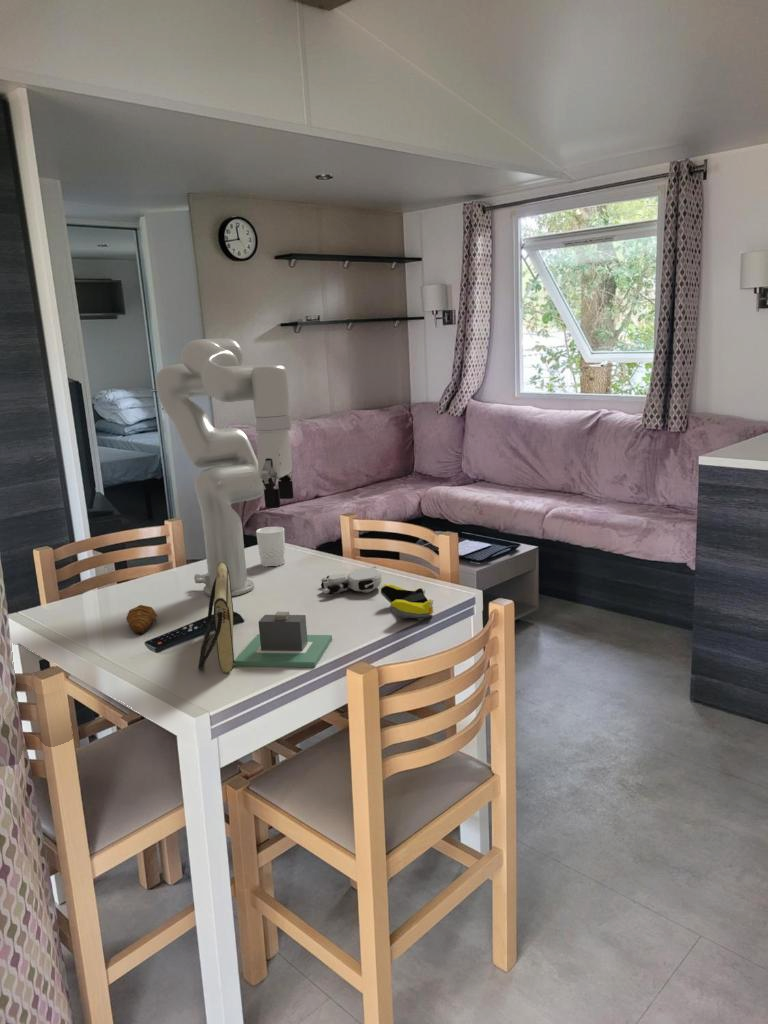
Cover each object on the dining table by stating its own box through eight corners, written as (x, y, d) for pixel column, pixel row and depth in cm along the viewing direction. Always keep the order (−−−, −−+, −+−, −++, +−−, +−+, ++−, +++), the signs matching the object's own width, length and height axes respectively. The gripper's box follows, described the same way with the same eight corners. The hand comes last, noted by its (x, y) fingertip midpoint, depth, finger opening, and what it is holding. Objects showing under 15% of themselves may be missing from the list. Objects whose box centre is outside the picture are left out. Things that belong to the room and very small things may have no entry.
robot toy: (323, 604, 184) (385, 594, 185) (320, 586, 183) (382, 576, 184) (321, 589, 196) (380, 580, 197) (319, 572, 195) (377, 563, 196)
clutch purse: (202, 628, 169) (195, 562, 166) (235, 624, 170) (228, 559, 167) (196, 682, 141) (188, 604, 138) (235, 678, 142) (227, 600, 139)
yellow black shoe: (393, 627, 163) (438, 622, 165) (391, 603, 162) (437, 597, 164) (380, 605, 178) (422, 600, 179) (378, 583, 176) (421, 578, 178)
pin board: (234, 665, 147) (232, 645, 146) (258, 638, 161) (256, 620, 160) (314, 667, 144) (313, 646, 143) (332, 639, 158) (330, 620, 157)
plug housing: (261, 650, 151) (257, 616, 150) (267, 642, 155) (264, 609, 154) (302, 651, 150) (299, 617, 148) (307, 643, 153) (305, 610, 152)
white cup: (253, 565, 218) (250, 531, 216) (274, 558, 224) (271, 525, 222) (272, 569, 213) (268, 534, 211) (292, 562, 219) (290, 528, 216)
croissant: (131, 618, 179) (128, 597, 178) (161, 614, 180) (158, 594, 179) (123, 638, 166) (120, 616, 165) (155, 634, 167) (152, 612, 166)
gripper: (269, 421, 173) (275, 495, 176) (242, 429, 156) (250, 511, 160) (301, 419, 171) (307, 495, 175) (278, 428, 155) (284, 511, 158)
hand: (279, 502), depth 167 cm, fingers open, 9 cm apart
